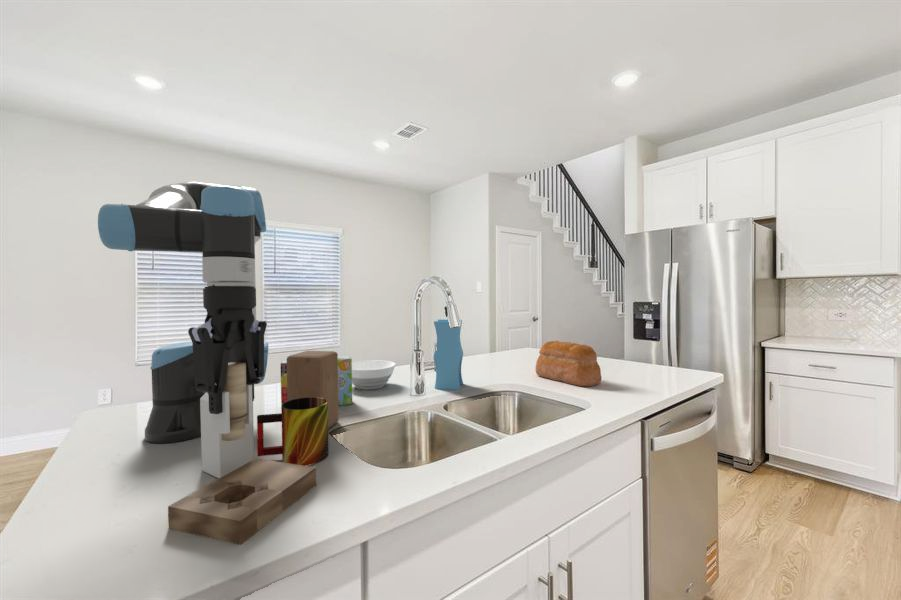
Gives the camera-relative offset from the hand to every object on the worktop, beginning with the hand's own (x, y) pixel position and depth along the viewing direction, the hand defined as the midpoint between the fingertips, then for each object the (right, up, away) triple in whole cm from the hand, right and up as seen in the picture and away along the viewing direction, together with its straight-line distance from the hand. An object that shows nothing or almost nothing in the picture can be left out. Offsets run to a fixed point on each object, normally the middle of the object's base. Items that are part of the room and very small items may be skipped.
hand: (233, 427), depth 65 cm
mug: (+2, -14, +22) cm, 26 cm away
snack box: (-7, -13, +61) cm, 63 cm away
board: (+1, -15, +3) cm, 15 cm away
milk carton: (-11, -14, +17) cm, 25 cm away
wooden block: (-1, -14, +42) cm, 44 cm away
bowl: (+5, -12, +86) cm, 87 cm away
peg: (0, -2, 0) cm, 2 cm away
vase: (+35, -12, +85) cm, 93 cm away
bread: (+83, -12, +95) cm, 126 cm away
